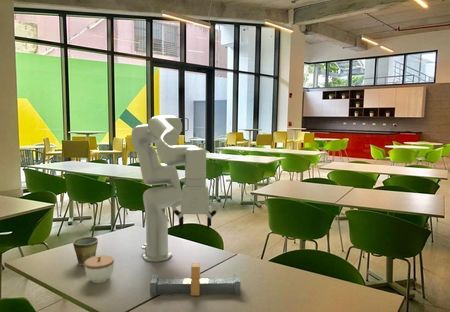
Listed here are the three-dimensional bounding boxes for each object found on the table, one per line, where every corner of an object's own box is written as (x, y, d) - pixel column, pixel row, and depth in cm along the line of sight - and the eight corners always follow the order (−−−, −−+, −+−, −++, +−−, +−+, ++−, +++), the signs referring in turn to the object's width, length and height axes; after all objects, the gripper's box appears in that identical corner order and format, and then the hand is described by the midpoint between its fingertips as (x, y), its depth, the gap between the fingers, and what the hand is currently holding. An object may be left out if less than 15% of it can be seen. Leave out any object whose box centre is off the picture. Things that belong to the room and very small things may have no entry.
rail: (150, 296, 130) (150, 282, 129) (153, 288, 136) (152, 275, 135) (240, 294, 131) (240, 281, 131) (239, 286, 137) (239, 274, 137)
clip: (199, 295, 130) (199, 269, 129) (190, 295, 130) (190, 269, 128) (200, 284, 138) (200, 260, 136) (192, 284, 138) (192, 260, 136)
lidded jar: (85, 288, 136) (84, 264, 135) (84, 276, 146) (84, 253, 144) (115, 283, 140) (114, 259, 139) (113, 271, 150) (112, 249, 148)
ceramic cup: (99, 265, 155) (98, 242, 154) (74, 269, 152) (72, 246, 150) (97, 254, 167) (97, 233, 166) (74, 257, 164) (73, 236, 162)
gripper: (170, 184, 128) (170, 231, 130) (219, 184, 128) (218, 231, 131) (172, 179, 135) (172, 224, 138) (219, 180, 136) (218, 224, 138)
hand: (195, 227), depth 134 cm, fingers open, 9 cm apart
